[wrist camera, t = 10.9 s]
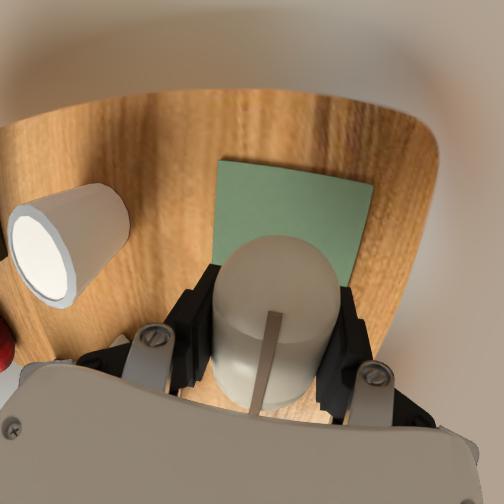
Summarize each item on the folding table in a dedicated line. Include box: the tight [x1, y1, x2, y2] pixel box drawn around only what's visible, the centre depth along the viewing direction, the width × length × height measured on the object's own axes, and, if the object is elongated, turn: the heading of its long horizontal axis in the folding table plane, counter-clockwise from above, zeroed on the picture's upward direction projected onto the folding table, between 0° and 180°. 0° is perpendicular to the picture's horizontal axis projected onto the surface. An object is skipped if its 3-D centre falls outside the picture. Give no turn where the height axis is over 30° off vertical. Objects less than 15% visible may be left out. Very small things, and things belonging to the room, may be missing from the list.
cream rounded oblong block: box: [211, 235, 340, 416], centre depth 10 cm, size 8×4×4 cm, turn 174°
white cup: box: [7, 183, 130, 309], centre depth 16 cm, size 7×7×7 cm
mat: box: [212, 160, 374, 287], centre depth 17 cm, size 9×9×1 cm
